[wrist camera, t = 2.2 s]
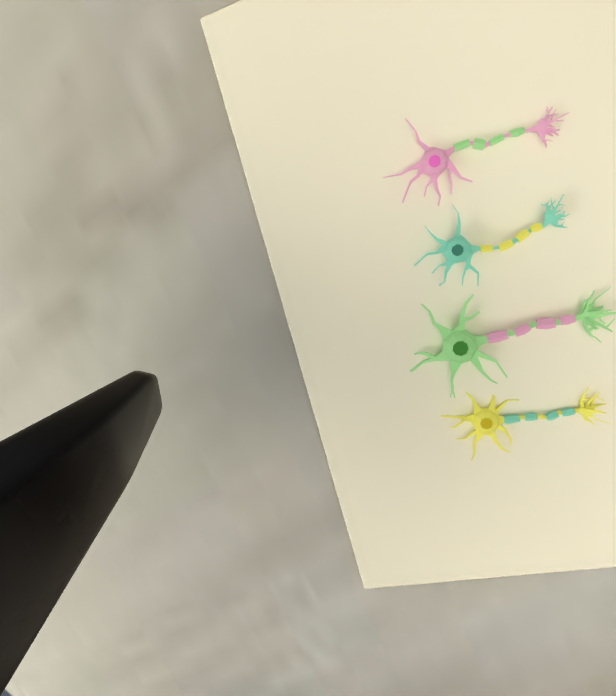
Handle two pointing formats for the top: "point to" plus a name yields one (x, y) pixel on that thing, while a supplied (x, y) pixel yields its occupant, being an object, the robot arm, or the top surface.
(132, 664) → the top surface
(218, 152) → the top surface
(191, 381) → the top surface
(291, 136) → the printed paper
